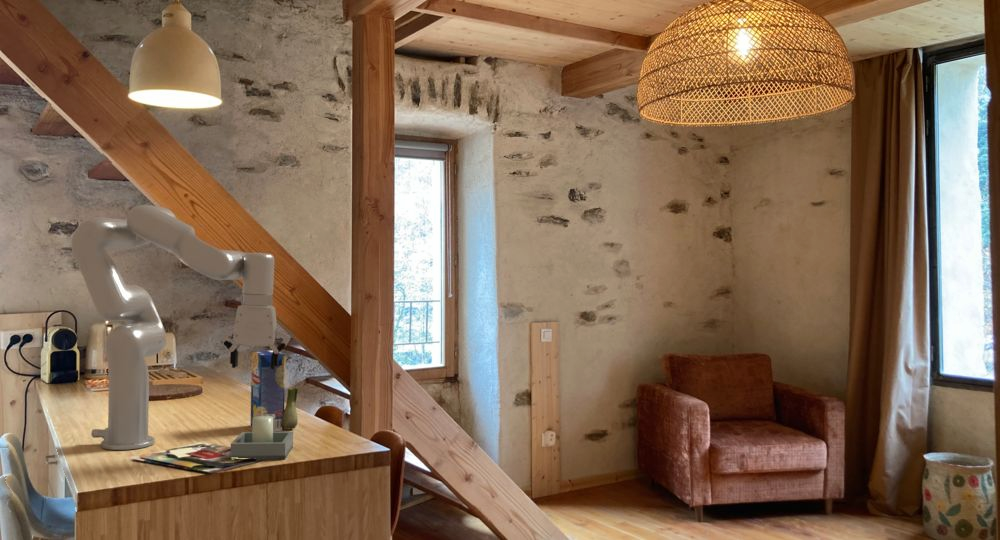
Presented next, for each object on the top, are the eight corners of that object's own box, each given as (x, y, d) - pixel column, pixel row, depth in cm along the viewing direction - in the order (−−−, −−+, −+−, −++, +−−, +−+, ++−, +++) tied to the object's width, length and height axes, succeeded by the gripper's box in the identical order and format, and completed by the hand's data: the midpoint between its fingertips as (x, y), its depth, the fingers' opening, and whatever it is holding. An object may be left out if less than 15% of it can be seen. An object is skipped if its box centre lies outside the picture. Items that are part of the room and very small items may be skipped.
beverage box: (273, 423, 234) (275, 350, 234) (284, 430, 224) (285, 354, 224) (250, 425, 230) (251, 351, 230) (259, 433, 221) (261, 355, 221)
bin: (230, 460, 191) (230, 443, 191) (241, 447, 204) (242, 432, 204) (285, 459, 192) (285, 443, 192) (292, 447, 205) (293, 431, 205)
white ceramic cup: (250, 451, 195) (250, 419, 195) (254, 447, 200) (254, 415, 200) (270, 451, 196) (271, 419, 196) (274, 446, 201) (274, 415, 201)
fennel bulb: (289, 426, 230) (295, 385, 230) (301, 429, 227) (307, 388, 228) (274, 427, 225) (280, 386, 225) (286, 430, 222) (292, 388, 223)
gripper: (218, 300, 195) (215, 368, 195) (289, 303, 197) (286, 371, 197) (226, 298, 203) (223, 364, 203) (294, 301, 204) (291, 367, 204)
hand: (254, 367), depth 200 cm, fingers open, 9 cm apart
